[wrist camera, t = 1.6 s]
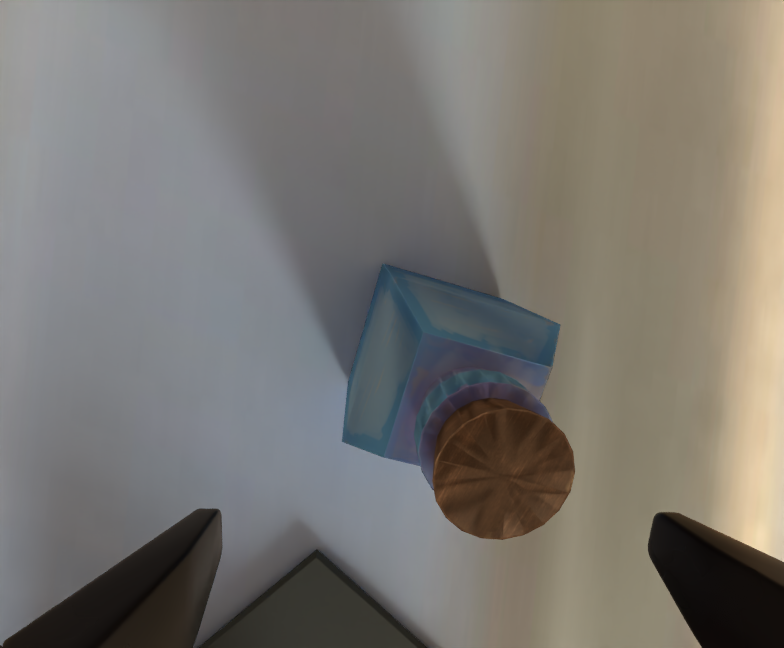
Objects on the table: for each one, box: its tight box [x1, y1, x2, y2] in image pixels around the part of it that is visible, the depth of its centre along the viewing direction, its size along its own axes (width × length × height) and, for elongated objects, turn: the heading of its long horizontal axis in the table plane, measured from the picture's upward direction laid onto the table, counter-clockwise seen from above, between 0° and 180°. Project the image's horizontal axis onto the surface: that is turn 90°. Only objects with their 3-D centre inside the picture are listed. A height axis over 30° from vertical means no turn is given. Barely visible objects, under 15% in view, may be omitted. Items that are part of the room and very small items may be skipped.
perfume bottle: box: [342, 263, 575, 540], centre depth 15 cm, size 6×6×12 cm
